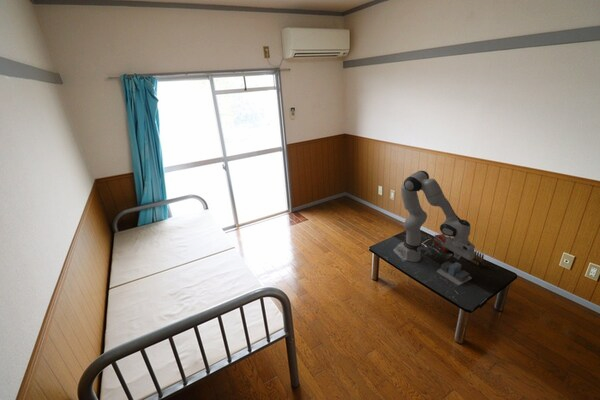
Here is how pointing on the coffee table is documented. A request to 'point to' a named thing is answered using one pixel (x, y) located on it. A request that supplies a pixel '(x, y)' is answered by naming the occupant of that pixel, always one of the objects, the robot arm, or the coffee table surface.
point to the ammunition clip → (477, 260)
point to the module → (454, 269)
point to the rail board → (458, 278)
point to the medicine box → (441, 242)
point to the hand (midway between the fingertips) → (457, 258)
